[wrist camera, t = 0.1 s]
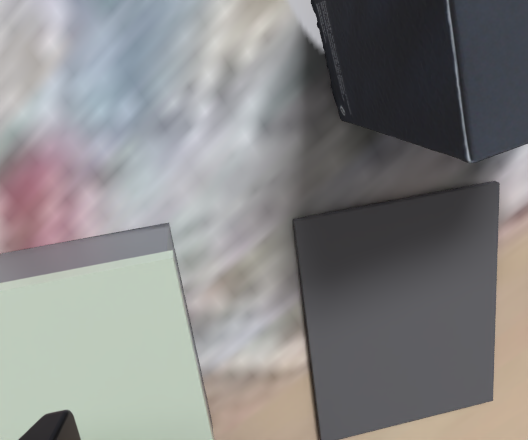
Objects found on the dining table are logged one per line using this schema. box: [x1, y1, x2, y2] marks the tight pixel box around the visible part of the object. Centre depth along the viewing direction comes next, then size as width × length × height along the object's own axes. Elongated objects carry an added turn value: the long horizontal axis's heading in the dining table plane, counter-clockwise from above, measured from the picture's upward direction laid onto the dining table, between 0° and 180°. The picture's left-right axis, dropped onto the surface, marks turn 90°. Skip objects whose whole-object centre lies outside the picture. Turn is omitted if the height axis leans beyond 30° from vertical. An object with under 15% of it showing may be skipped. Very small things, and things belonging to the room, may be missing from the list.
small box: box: [311, 0, 528, 163], centre depth 17 cm, size 11×6×10 cm, turn 107°
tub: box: [0, 223, 213, 432], centre depth 21 cm, size 12×9×4 cm
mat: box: [293, 181, 499, 440], centre depth 26 cm, size 14×11×1 cm
